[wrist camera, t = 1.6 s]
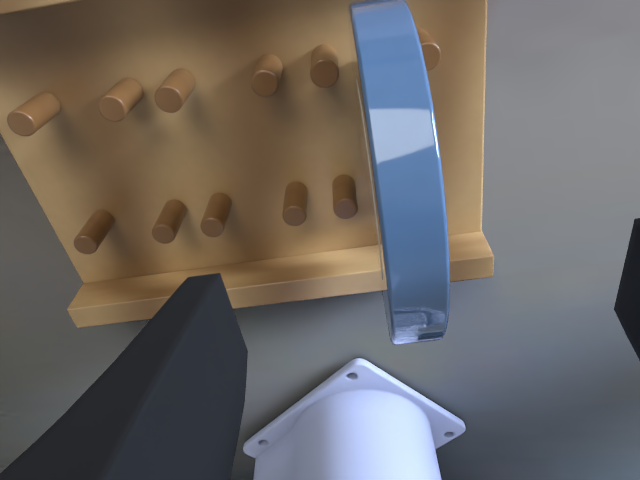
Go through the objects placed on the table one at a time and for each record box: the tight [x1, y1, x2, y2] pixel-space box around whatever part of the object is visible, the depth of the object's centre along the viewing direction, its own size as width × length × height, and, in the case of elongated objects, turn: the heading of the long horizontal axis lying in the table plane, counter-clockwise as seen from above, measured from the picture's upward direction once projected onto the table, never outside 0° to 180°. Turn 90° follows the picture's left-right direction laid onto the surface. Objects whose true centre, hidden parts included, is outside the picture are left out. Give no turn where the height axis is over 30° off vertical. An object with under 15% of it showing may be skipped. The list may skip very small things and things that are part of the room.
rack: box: [0, 0, 494, 328], centre depth 16 cm, size 16×12×3 cm
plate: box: [347, 0, 450, 345], centre depth 13 cm, size 1×8×8 cm, turn 9°
